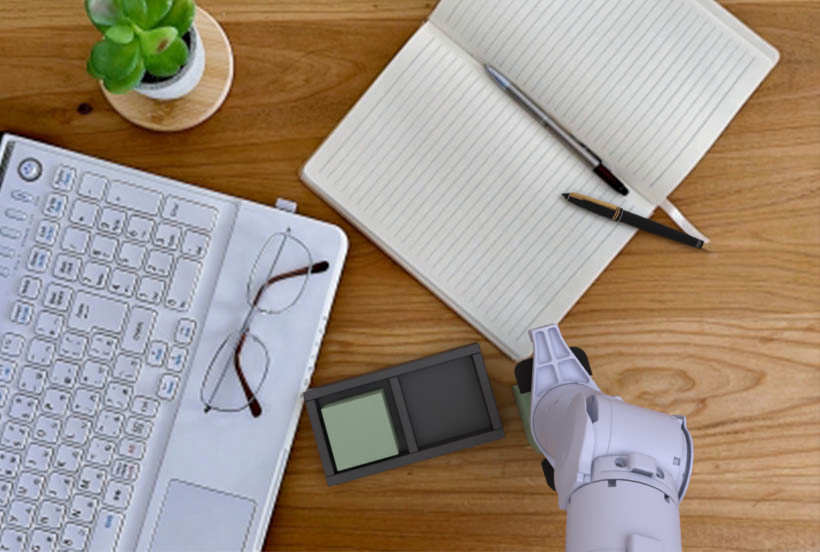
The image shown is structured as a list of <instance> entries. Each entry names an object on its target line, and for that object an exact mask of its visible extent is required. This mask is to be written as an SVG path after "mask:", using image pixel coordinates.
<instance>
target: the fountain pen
mask: <svg viewBox="0 0 820 552" xmlns="http://www.w3.org/2000/svg"><path fill="white" fill-rule="evenodd" d="M561 196H562V197H563V198H564V199H565V201H567V202H569V203H571V204H572V205H575V206H576V207H579V208H581V209H584V210H586V211H588V212H590V213H593V214H595V215H598V216H601V217H603V218H606V219H608V220H611V221H614V222H616V223H617V222H620V223H622V224H625V225H628V226H630V227H633V228H635V229H639V230H642V231H644V232H646V233H647V232H648V233H650V234H653V235H656V236H658V237H662V238H665V239H667V240H671V241H673V242H677V243H679V244H684V245H687V246H689V247H693V248H695V249H698V250H701V249H704V250H706V251H707V252H721V250H719V249H717V248H716V247H715V246H714V245H713V244H709V243H706V242H705V241H704V240H702V239H701V238H699V237H695V236H693V235H690V234H688V233H685V232H683V231H680V230H678V229H675V228H673V227H670V226H668V225H665V224H663V223H661V222H657V221H655V220H653V219H649V218H647V217H644V216H641V215H639V214H636V213H633V212H631V211H628V210H625V209H624V208H623V207H620V206H617V205H615V204H612V203H609V202H606V201H604V200H600V199H598V198H594V197H591V196H588V195H585V194H581V193H579V192H578V193H577V192H574V191H572V192H564V193H561Z"/></svg>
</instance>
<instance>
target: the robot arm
mask: <svg viewBox="0 0 820 552" xmlns="http://www.w3.org/2000/svg"><path fill="white" fill-rule="evenodd" d="M527 335H528V337H529V340H530V342H531V343H532V349H533V350H532V351H533V354H532V355H533V357H529V358H526V359H523V360H520V361H519V362H517V363H516V365H515V366H514V377H515V380H516V383H517V384H516V385H518V387H519V391H520V393H521V394H524V393H527V392H531V404H530V430H531V434H532V437H533V439H534V441H535V443H536V444H537V446H538V447H539V449H540V450H541V452H542V453H541V454H542V455H543V456H544V457H545V458H544V459H543V460H541V462H540V465H541V469H542V472H543V476H544V478H545V482H546V484H547V486H548V487H549V488H550V489H551V490H552V491H554V492H556V493H557V497H558V498H557V499H558V501H557V505H558V509H560V510H563V511H565V512H566V522H565V523H566V524H565V546H564V552H683V548H682V533H681V532H682V531H681V529H682V528H681V517H680V516H681V515H680V505H681V503H682V501H683V499H684V497H685V495H686V493H687V490H688V488H689V485H690V483H691V476H692V473H693V472H692V471H693V467H694V456H695V453H694V452H695V451H694V450H695V449H694V441H693V436H692V434H691V431H690V430H689V429H688V427H687V417H686V416H685V415H683V414H669V413H665V412H663V411H662V412H661V411H658V410H654V409H652V408H651V409H650V408H648V407H643V406H641V405H640V406H639V405H635V404H632V403H628V402H626V401H625V400H624V399H623V398H622V396H619V395H614V394H613V395H611V394H608V393H605V392H603V391H602V390H601V388H599V386H598V385H597V383H596V382H595V381H594V379H593V378H592V376H593V372H592V368H591V365H590V361H589V357H588V355H587V353H586V352H585V350H583V349H582V348H580V347H579V346H568V344H567V342H566V341H565V339H564V337H563V335H562V333H561V330H560V327H559V325H558V323H548V324H544V325H541V326H538V327H535V328H531V329H528V330H527Z"/></svg>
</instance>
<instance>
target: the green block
mask: <svg viewBox="0 0 820 552" xmlns="http://www.w3.org/2000/svg"><path fill="white" fill-rule="evenodd" d="M511 390H512V393H513V396H514V401H515V403H516V407H517V410H518V413H519V417H520V420H521V423H522V427H523V431H524V434H525V437H526V441H527V443H528V445H530V447H531V448H533V450H534V451H536V452H537V454H543V453H542V452H541V450H540V449H539V447H538V446H537V444H536V443H535V441H534V439H533V437H532V434H531V430H530V404H531V392H527V393H524V394H521V393H520V391H519V387H518V384H515V385H511Z"/></svg>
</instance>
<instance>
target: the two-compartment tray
mask: <svg viewBox="0 0 820 552" xmlns="http://www.w3.org/2000/svg"><path fill="white" fill-rule="evenodd" d="M302 395H303V396H302V397H303V399H304V401H305V406H306V410H307V414H308V417H309V422H310V425H311V428H312V432H313V436H314V440H315V443H316V447H317V450H318V451H317V452H318V454H319V458H320V461H321V465H322V469H323V473H324V476H325V481H326V484H327V487H328V488H329V487H333V486H337V485H341V484H344V483H348V482H351V481H355V480H358V479H362V478H365V477H369V476H373V475H377V474H380V473H384V472H388V471H391V470H394V469H398V468H401V467H402V468H403V467H406V466H408V465H412V464H416V463H419V462H424V461H426V460H431V459H434V458H438V457H440V456H444V455H448V454H452V453H455V452H459V451H463V450H466V449H470V448H473V447H478V446H481V445H485V444H487V443H491V442H495V441H499V440H502V439H505V438H507V436H506V432H505V429H504V426H503V423H502V419H501V416H500V415H501V414H500V411H499V408H498V405H497V402H496V399H495V394H494V392H493V387H492V384H491V381H490V378H489V374H488V371H487V367H486V364H485V361H484V358H483V354H482V351H481V346H480V344H479V342H476V341H474V342H470V343H467V344H464V345H460V346H459V345H458V346H456V347H453V348H448V349H445V350H442V351H439V352H434V353H431V354H427V355H424V356H421V357H417V358H414V359H410V360H406V361H403V362H399V363H395V364H392V365H388V366H385V367H382V368H377V369H374V370H370V371H367V372H364V373H360V374H357V375H352V376H349V377H345V378H342V379H339V380H335V381H331V382H328V383H325V384H321V385H317V386H314V387H310V388H307V389H306V390H305V391H303V392H302Z"/></svg>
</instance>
